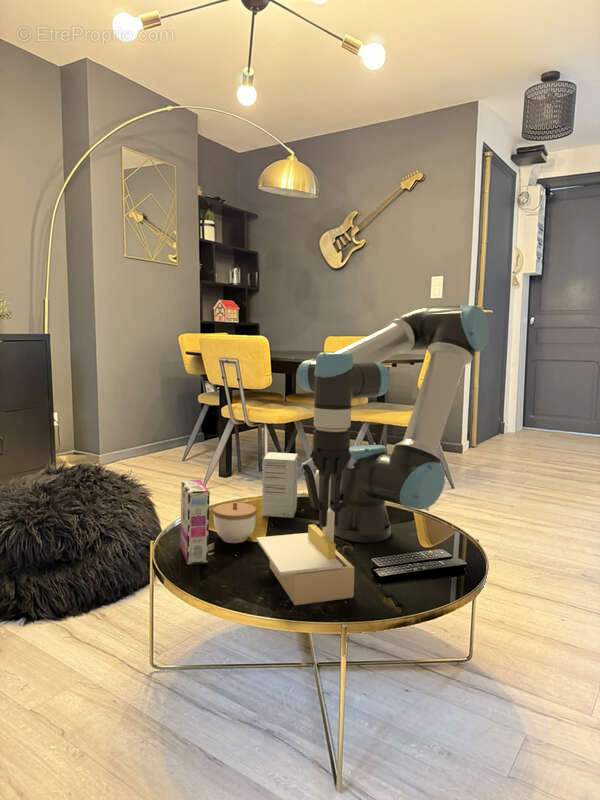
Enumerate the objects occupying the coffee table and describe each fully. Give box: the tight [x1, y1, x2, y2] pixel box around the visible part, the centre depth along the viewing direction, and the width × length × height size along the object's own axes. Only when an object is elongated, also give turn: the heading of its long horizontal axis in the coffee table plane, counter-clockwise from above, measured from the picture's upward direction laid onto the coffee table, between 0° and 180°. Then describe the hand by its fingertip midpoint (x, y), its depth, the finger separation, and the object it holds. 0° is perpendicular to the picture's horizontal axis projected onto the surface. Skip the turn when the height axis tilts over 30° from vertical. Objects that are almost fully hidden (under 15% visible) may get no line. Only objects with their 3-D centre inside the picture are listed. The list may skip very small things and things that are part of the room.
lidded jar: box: [212, 501, 257, 544], centre depth 133 cm, size 11×11×9 cm
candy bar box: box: [180, 479, 210, 566], centre depth 122 cm, size 11×5×16 cm, turn 21°
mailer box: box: [269, 548, 355, 606], centre depth 110 cm, size 12×18×6 cm, turn 18°
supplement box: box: [261, 451, 299, 519], centre depth 155 cm, size 10×9×17 cm
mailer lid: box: [256, 524, 343, 575], centre depth 109 cm, size 12×18×4 cm
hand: (327, 540), depth 111 cm, fingers closed
